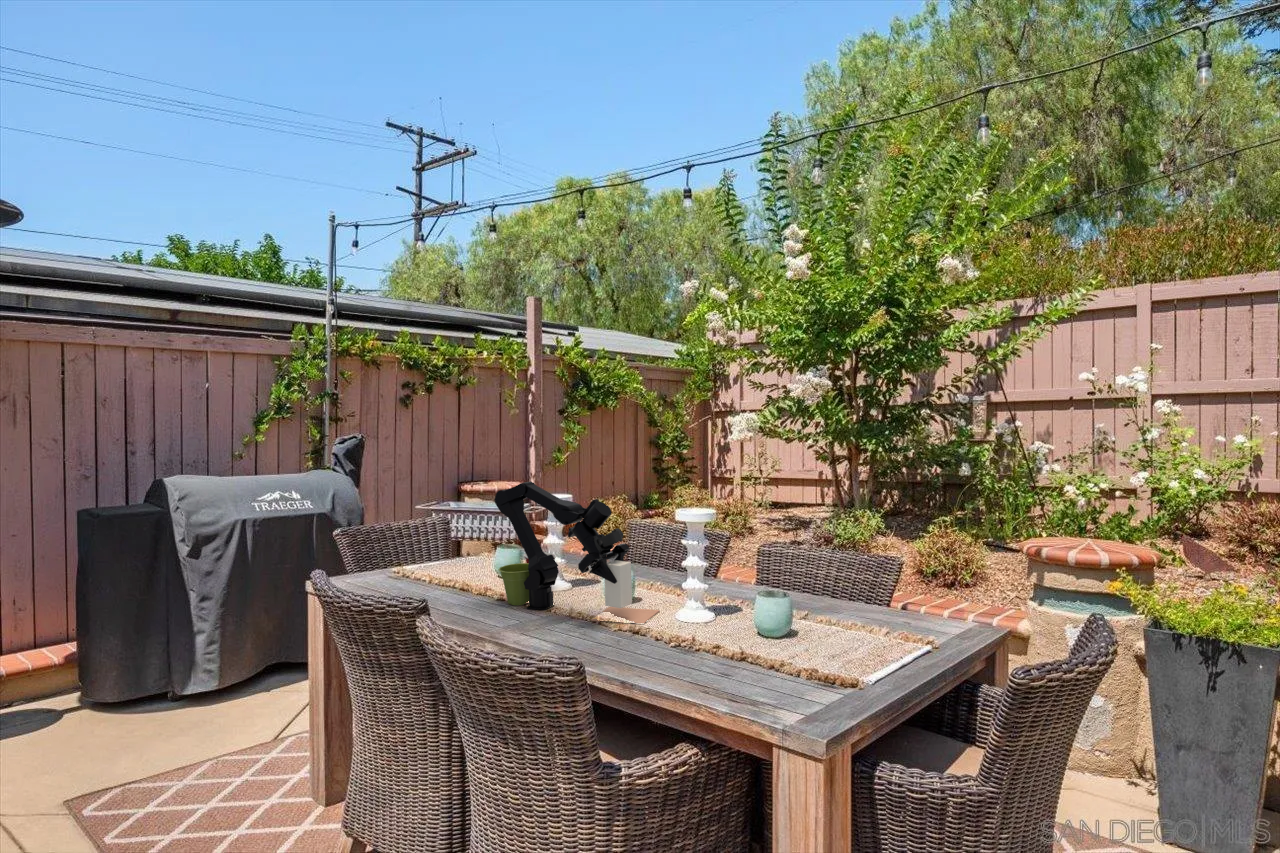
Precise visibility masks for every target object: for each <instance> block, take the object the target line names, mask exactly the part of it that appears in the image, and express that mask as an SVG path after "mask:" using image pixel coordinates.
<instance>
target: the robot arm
mask: <svg viewBox="0 0 1280 853" xmlns="http://www.w3.org/2000/svg"><path fill="white" fill-rule="evenodd" d="M525 499H528V500H530V501H532V502H534V503H535V504H537V505H539V506H540V507H541V508H544V509H545V510H547V511H548V512H551V513H552V516H553V518H554V519H555V520H556V521H557V522H559V523H560V524H562V525H563V526H568V525H573V524H574V525H573V527H572V526H571V527H569V528H568V534H567V537H568V538H572V537H576V539H577V540H578V542H579V543H580V544H581V545H582V548H581V550H582V551H583V553H584V552H587V553H586V554H585V556H584V557H583V558H582V559H581V560H580V561H579V562H578V564H577V566H578V567H577V568H578V570H579V571H580V573H582V574H584V573H589V574H592V575H596V576H598V577H600V578H603V579H604V580H605V579H606V580H608V581H610V582H612V583H614V584H615V583H616V582H617V580H616V578H615V576H614V575H613V573H612V572H611V570H610V569H609V567H608V566H607V563H608V562H607V561H609V562H612V561H615V560H617V561H625V560H624V559H625V556H626V555H627V554H628V552H630V550H631V548H630V547H629V545H628V544H627V543H620V542H623V541H624V539H623V538H624V532H623V531H622V530H621V529H620V528H619V527H618V528H614V529H612V530H610V531H611V532H609V533H607V534H603V533H601V534H599V532H598V531H597V529H601V528H602V526H603V525H604V524H605V523H606V521H607V520H608V519H609V518H610V517H611V515H612V509H611V507H610V506H609V505H607V504H606V503H604V502H602V501H600V500H599V499H598V498H594V499H592V500H591V501H590V503H589V505H588V506H587V507H583V505H581V503H578V502H574V501H573V500H568V499H567V500H565V499H562V498H559V497H558V496H556V495H554V494H552V493H550V492H549V491H547V490H546V489H544V488H542V487H540V486H538V485H536V484H535V483H534V482H532V481H526V482H520V483H519V484H517V485H515V486H513V487H510V488H507V489H500V490H498V491H496V493H495V497H494V499H493V500H494V504H495V506H496V507H497V508H498V510H499V512H500V513H501V514H502V515H504V516H505V517H506V518H508V520H509V521H510V523H511V525H512V527H513V530H514V532H515V534H516V536H517V538H518V540H519V542H520V545H521V546H522V548H523V550H524V554H526V555H527V557H528V559H529V564H528V570H529V573H530V575H529V577H528V578H527V579H526V580H525V581H524V586H525V589H528V590H529V603H528V604H529V605H528V606H526V609H527V610H541V611H546V610H548V609H549V608H548V607H550V606H552V605H553V603H554V604H555V602H554V591H553V590H552V586H555V585H556V581H557V578H558V577H559V574H560V573H559V568H558V567H559V564H558V563H557V561H556V558H555V559H554V557H553V555H552V554H553V553H551V555H546V554H545V553H546V552H544V549H542V547H541V544H540V542H539V540H538V538H537V535H536V533H535V532H534V530H533V528H532V526H531V524H530V521H529V519H528V518H527V515H526V514H525ZM618 543H619V544H618ZM615 544H617V545H615ZM590 568H591V569H590ZM553 606H554V605H553ZM553 606H552V607H553ZM547 608H548V609H547ZM550 608H551V607H550Z"/></svg>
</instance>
